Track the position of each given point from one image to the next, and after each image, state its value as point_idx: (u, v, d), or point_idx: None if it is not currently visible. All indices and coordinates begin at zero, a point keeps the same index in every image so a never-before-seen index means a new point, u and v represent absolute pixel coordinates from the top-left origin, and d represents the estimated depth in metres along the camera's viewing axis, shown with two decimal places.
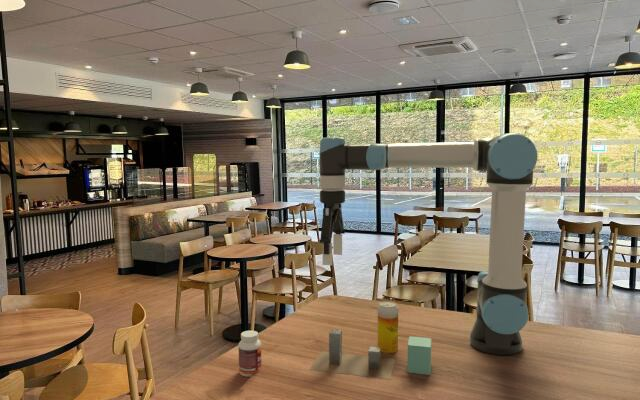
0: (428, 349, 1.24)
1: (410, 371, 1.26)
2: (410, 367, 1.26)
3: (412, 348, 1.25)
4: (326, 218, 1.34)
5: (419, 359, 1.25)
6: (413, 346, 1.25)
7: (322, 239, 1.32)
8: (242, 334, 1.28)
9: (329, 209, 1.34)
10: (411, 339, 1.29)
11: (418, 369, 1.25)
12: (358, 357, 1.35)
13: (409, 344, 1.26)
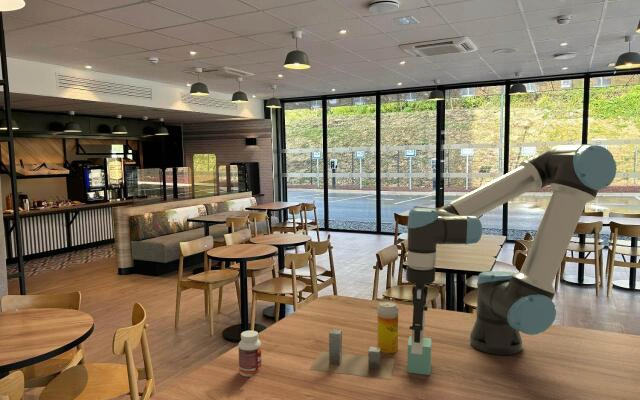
0: (428, 349, 1.24)
1: (410, 371, 1.26)
2: (410, 367, 1.26)
3: None
4: (418, 302, 1.19)
5: (419, 359, 1.25)
6: None
7: (415, 327, 1.17)
8: (242, 334, 1.28)
9: (421, 292, 1.19)
10: (411, 339, 1.29)
11: (418, 369, 1.25)
12: (358, 357, 1.35)
13: (409, 344, 1.26)
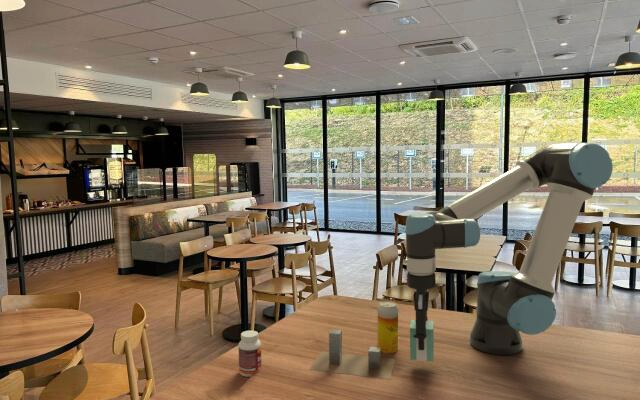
0: (430, 331, 1.24)
1: (413, 354, 1.25)
2: (413, 350, 1.25)
3: (414, 331, 1.25)
4: (420, 313, 1.20)
5: None
6: (415, 329, 1.25)
7: (418, 335, 1.21)
8: (242, 334, 1.28)
9: (422, 303, 1.20)
10: (413, 322, 1.28)
11: None
12: (358, 357, 1.35)
13: (411, 327, 1.25)
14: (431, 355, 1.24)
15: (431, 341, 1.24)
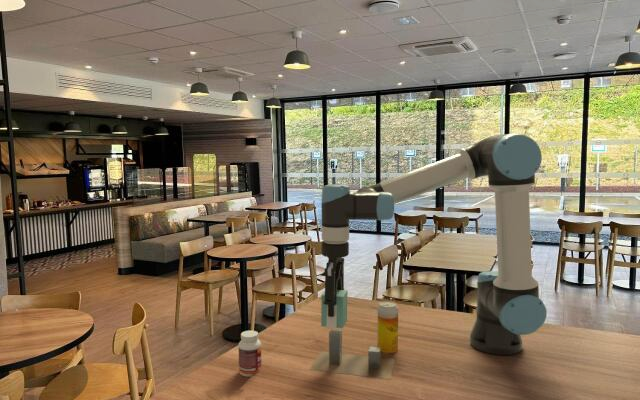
0: (340, 299, 1.27)
1: (324, 321, 1.28)
2: (324, 317, 1.28)
3: None
4: (329, 279, 1.23)
5: None
6: None
7: (327, 301, 1.24)
8: (242, 334, 1.28)
9: (331, 270, 1.23)
10: None
11: None
12: (358, 357, 1.35)
13: (323, 294, 1.28)
14: (341, 322, 1.27)
15: (341, 308, 1.27)
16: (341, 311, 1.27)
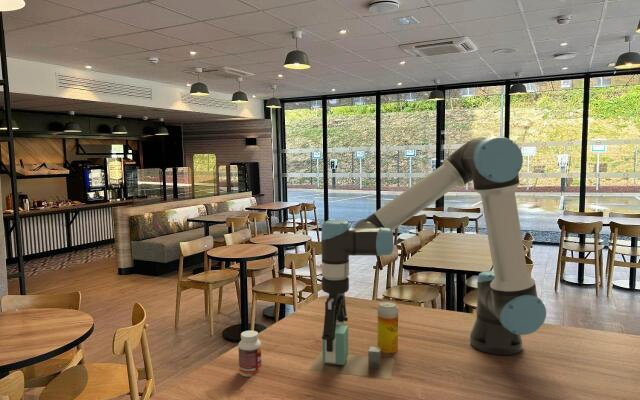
0: (341, 336, 1.28)
1: None
2: None
3: None
4: (329, 313, 1.24)
5: None
6: None
7: (325, 337, 1.22)
8: (242, 334, 1.28)
9: (332, 303, 1.23)
10: None
11: None
12: (358, 357, 1.35)
13: None
14: (342, 359, 1.28)
15: (342, 345, 1.28)
16: (342, 348, 1.28)
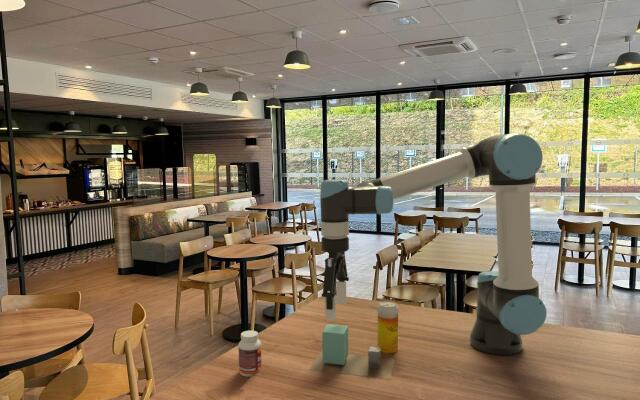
0: (341, 336, 1.28)
1: (325, 357, 1.30)
2: (325, 353, 1.30)
3: (326, 335, 1.29)
4: (329, 270, 1.22)
5: (334, 345, 1.29)
6: (327, 333, 1.29)
7: (325, 293, 1.20)
8: (242, 334, 1.28)
9: (332, 260, 1.22)
10: (328, 326, 1.33)
11: (332, 355, 1.29)
12: (358, 357, 1.35)
13: (324, 331, 1.29)
14: (342, 359, 1.28)
15: (342, 345, 1.28)
16: (342, 348, 1.28)
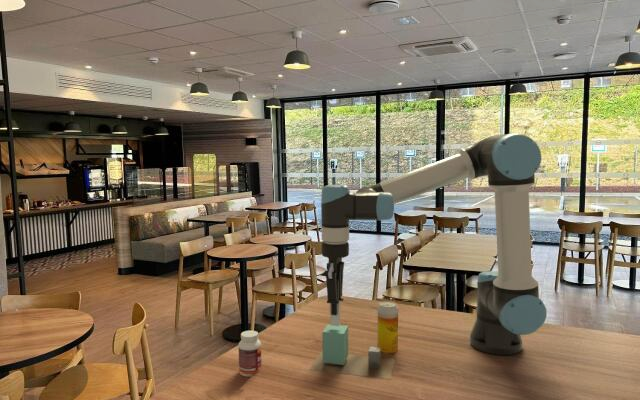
0: (341, 336, 1.28)
1: (325, 357, 1.30)
2: (325, 353, 1.30)
3: (326, 335, 1.29)
4: (330, 282, 1.25)
5: (334, 345, 1.29)
6: (327, 333, 1.29)
7: (330, 300, 1.27)
8: (242, 334, 1.28)
9: (332, 274, 1.23)
10: (328, 326, 1.33)
11: (332, 355, 1.29)
12: (358, 357, 1.35)
13: (324, 331, 1.29)
14: (342, 359, 1.28)
15: (342, 345, 1.28)
16: (342, 348, 1.28)
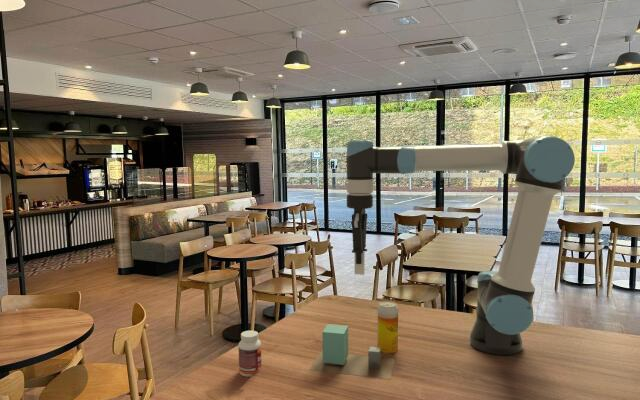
0: (341, 336, 1.28)
1: (325, 357, 1.30)
2: (325, 353, 1.30)
3: (326, 335, 1.29)
4: (356, 230, 1.32)
5: (334, 345, 1.29)
6: (327, 333, 1.29)
7: (355, 249, 1.34)
8: (242, 334, 1.28)
9: (358, 223, 1.30)
10: (328, 326, 1.33)
11: (332, 355, 1.29)
12: (358, 357, 1.35)
13: (324, 331, 1.29)
14: (342, 359, 1.28)
15: (342, 345, 1.28)
16: (342, 348, 1.28)
